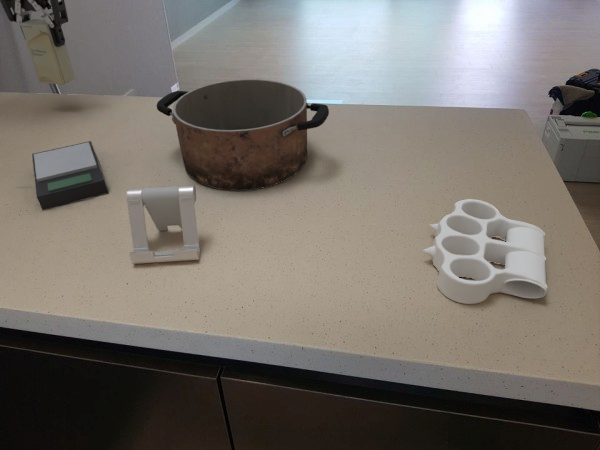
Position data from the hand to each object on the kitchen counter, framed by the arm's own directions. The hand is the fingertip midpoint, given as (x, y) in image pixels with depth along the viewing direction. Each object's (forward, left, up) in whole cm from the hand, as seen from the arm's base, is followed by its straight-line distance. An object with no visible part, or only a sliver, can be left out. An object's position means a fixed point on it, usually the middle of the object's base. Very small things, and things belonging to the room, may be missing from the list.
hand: (46, 44), depth 95 cm
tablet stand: (+47, -38, -14) cm, 62 cm away
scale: (+21, -26, -14) cm, 36 cm away
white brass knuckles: (+88, -30, -14) cm, 94 cm away
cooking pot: (+48, -12, -14) cm, 52 cm away
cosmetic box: (0, 0, -8) cm, 8 cm away
